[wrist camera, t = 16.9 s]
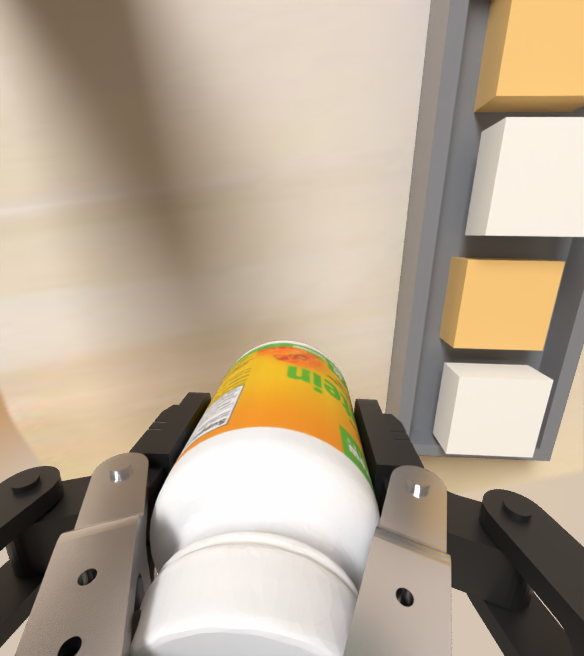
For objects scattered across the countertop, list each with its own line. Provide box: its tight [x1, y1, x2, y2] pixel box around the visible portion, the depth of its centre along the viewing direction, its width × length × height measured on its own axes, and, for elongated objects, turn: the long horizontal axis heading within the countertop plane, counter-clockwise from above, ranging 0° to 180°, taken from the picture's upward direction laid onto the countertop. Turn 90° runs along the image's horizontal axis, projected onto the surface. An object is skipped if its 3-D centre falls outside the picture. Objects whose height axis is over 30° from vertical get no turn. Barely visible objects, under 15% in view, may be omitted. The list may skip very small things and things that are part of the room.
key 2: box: [465, 117, 584, 237], centre depth 19 cm, size 6×6×2 cm
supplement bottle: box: [130, 340, 380, 656], centre depth 9 cm, size 5×5×10 cm
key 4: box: [433, 362, 553, 458], centre depth 23 cm, size 6×6×2 cm
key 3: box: [439, 257, 565, 351], centre depth 22 cm, size 6×6×2 cm
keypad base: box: [385, 0, 584, 461], centre depth 22 cm, size 32×12×4 cm, turn 179°
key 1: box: [474, 0, 584, 112], centre depth 18 cm, size 6×6×2 cm
